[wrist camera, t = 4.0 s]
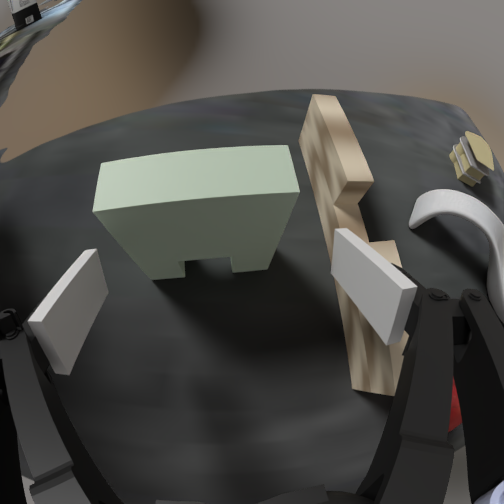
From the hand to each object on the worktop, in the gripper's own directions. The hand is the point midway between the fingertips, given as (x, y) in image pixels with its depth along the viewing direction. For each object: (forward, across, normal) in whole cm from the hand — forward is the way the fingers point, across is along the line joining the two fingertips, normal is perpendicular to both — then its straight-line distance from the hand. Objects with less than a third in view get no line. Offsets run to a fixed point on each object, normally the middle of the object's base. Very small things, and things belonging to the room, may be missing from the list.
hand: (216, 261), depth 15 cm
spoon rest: (+6, +30, -7) cm, 32 cm away
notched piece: (+9, -1, -4) cm, 10 cm away
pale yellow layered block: (+17, +37, +4) cm, 40 cm away
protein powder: (+88, -79, +76) cm, 140 cm away
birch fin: (+9, +11, -4) cm, 15 cm away
